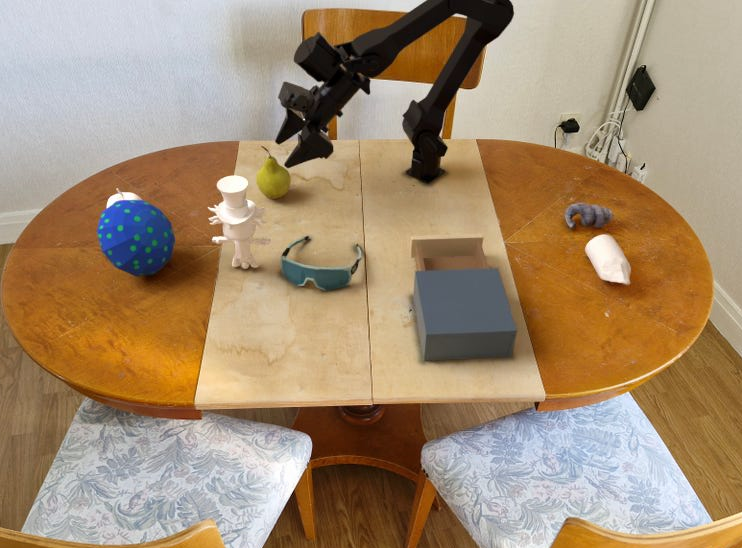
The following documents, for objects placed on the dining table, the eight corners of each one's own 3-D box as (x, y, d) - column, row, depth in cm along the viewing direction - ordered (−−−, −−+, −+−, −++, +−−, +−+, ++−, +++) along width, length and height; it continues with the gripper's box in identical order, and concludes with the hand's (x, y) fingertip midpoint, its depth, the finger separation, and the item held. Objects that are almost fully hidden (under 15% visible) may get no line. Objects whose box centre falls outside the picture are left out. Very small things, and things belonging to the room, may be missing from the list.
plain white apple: (125, 210, 139) (114, 176, 134) (155, 218, 138) (146, 183, 132) (104, 230, 135) (93, 195, 129) (136, 238, 133) (125, 203, 128)
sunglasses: (272, 284, 125) (271, 260, 122) (298, 244, 136) (297, 222, 133) (347, 297, 123) (348, 273, 120) (367, 256, 134) (368, 233, 131)
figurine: (213, 280, 125) (196, 196, 112) (221, 254, 131) (205, 170, 118) (271, 282, 125) (260, 198, 112) (276, 256, 131) (267, 172, 118)
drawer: (409, 250, 131) (410, 231, 128) (478, 247, 132) (481, 229, 129) (418, 305, 121) (420, 287, 118) (494, 303, 122) (497, 284, 119)
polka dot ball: (98, 197, 129) (140, 171, 119) (158, 246, 137) (202, 224, 127) (60, 254, 122) (102, 231, 112) (126, 301, 130) (170, 284, 120)
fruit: (285, 183, 147) (280, 132, 139) (296, 200, 143) (292, 148, 134) (254, 191, 145) (247, 138, 137) (265, 208, 141) (258, 155, 132)
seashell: (561, 232, 140) (608, 231, 141) (571, 224, 135) (620, 224, 136) (559, 206, 140) (607, 206, 141) (569, 198, 135) (618, 197, 136)
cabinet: (413, 297, 124) (415, 270, 119) (493, 294, 125) (498, 267, 120) (423, 360, 113) (426, 334, 109) (511, 356, 114) (517, 330, 110)
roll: (603, 299, 124) (611, 275, 120) (581, 258, 132) (588, 234, 128) (635, 297, 125) (644, 273, 121) (611, 255, 133) (619, 232, 129)
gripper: (291, 48, 133) (241, 109, 139) (314, 92, 121) (257, 156, 126) (332, 83, 140) (283, 140, 146) (357, 128, 128) (302, 187, 134)
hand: (281, 154), depth 138 cm, fingers open, 9 cm apart
